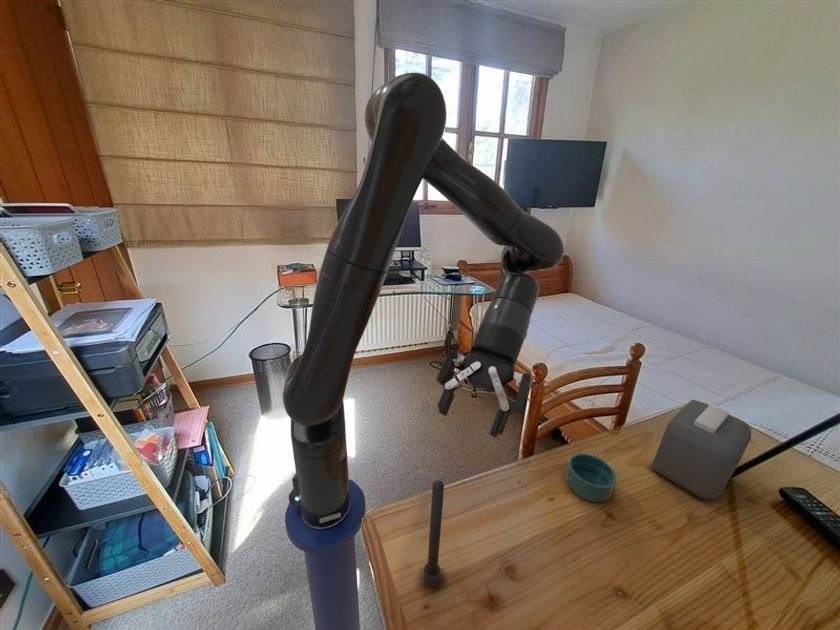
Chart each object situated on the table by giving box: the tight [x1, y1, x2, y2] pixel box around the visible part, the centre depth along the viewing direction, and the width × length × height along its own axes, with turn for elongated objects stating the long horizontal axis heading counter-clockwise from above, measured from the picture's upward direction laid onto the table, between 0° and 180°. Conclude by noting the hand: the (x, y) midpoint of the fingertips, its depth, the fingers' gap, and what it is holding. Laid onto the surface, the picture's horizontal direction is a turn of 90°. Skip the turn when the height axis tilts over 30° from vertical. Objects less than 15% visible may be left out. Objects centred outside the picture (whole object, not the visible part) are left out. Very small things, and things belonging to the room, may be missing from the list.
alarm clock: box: [651, 399, 752, 500], centre depth 74 cm, size 16×11×16 cm
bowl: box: [564, 452, 617, 503], centre depth 72 cm, size 9×9×4 cm
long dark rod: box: [423, 479, 445, 589], centre depth 50 cm, size 3×3×21 cm
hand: (466, 424), depth 52 cm, fingers open, 8 cm apart
